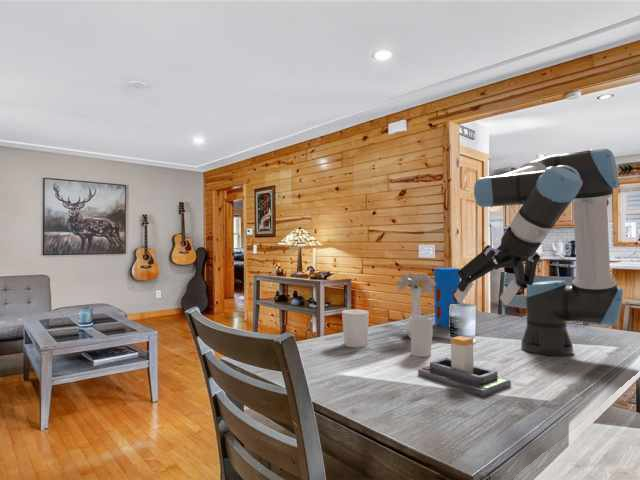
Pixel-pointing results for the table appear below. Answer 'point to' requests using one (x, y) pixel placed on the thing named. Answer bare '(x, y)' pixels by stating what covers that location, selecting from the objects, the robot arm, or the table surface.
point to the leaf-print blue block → (445, 293)
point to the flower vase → (415, 293)
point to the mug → (421, 336)
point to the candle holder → (355, 327)
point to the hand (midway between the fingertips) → (480, 300)
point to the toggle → (462, 353)
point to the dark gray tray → (465, 378)
